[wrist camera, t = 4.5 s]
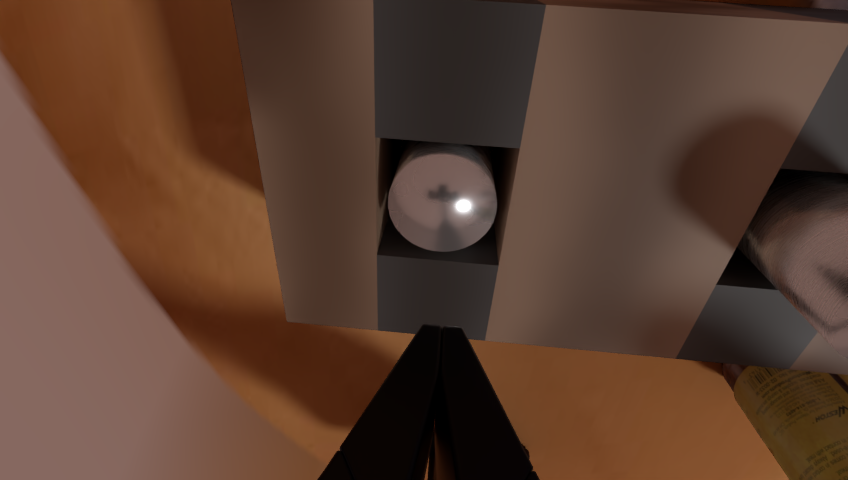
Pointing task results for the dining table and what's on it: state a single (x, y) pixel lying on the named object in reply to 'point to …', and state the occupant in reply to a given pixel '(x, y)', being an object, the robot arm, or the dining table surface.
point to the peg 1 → (443, 194)
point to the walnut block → (548, 164)
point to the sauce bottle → (796, 417)
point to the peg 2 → (806, 247)
